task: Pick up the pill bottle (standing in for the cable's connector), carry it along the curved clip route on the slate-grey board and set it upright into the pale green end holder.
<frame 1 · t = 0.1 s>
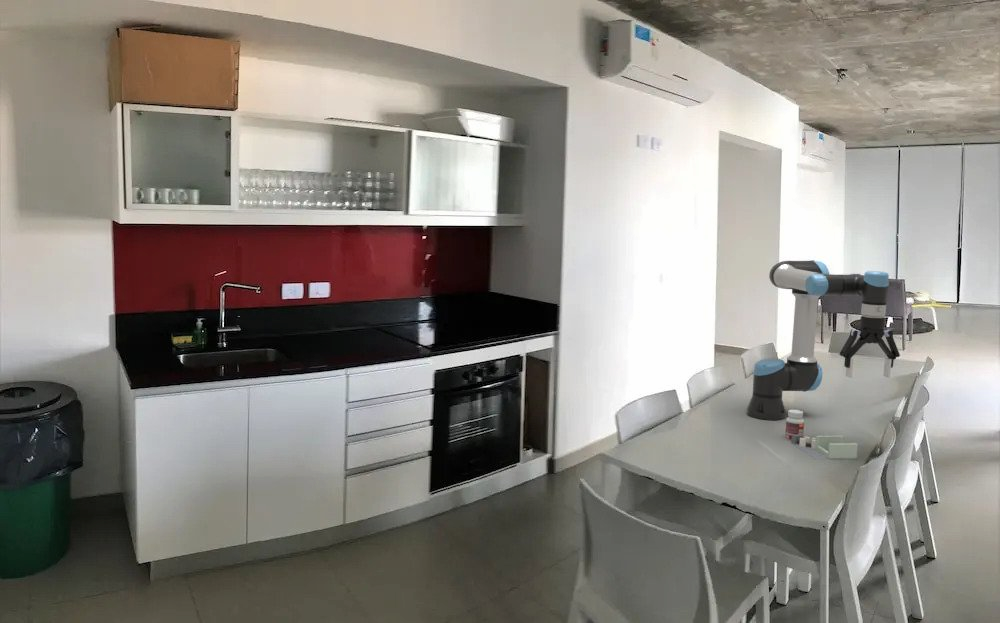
hand: (867, 376, 253), 28 cm above the table, fingers open, 13 cm apart
pill bottle: (793, 441, 271), on the table
end holder: (835, 453, 254), resting on route board
route board: (822, 453, 258), on the table
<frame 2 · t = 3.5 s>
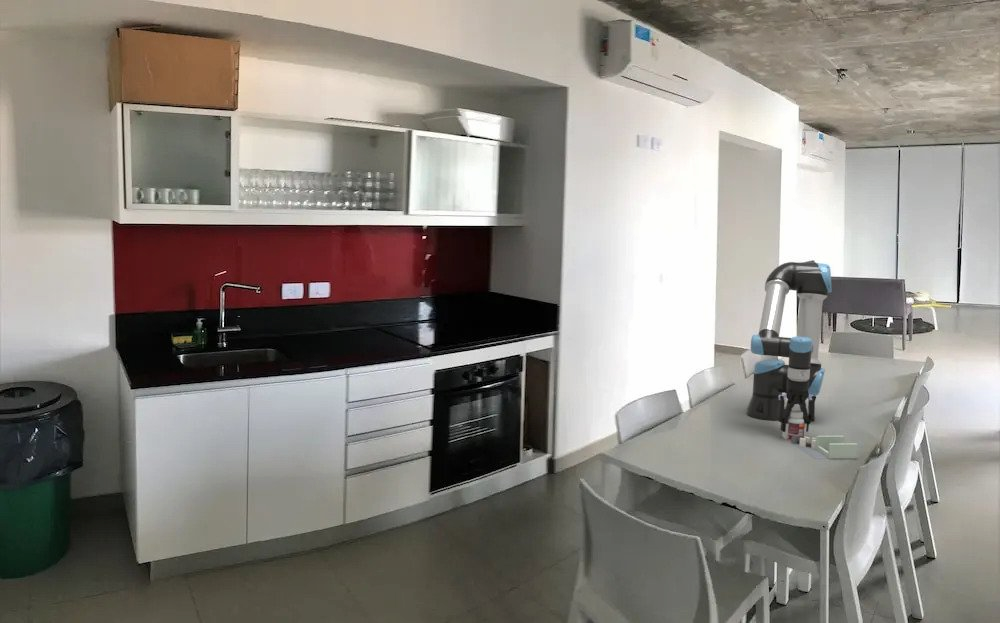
hand: (793, 439, 271), 0 cm above the table, fingers closed on pill bottle, 6 cm apart
pill bottle: (793, 441, 271), on the table, touching gripper
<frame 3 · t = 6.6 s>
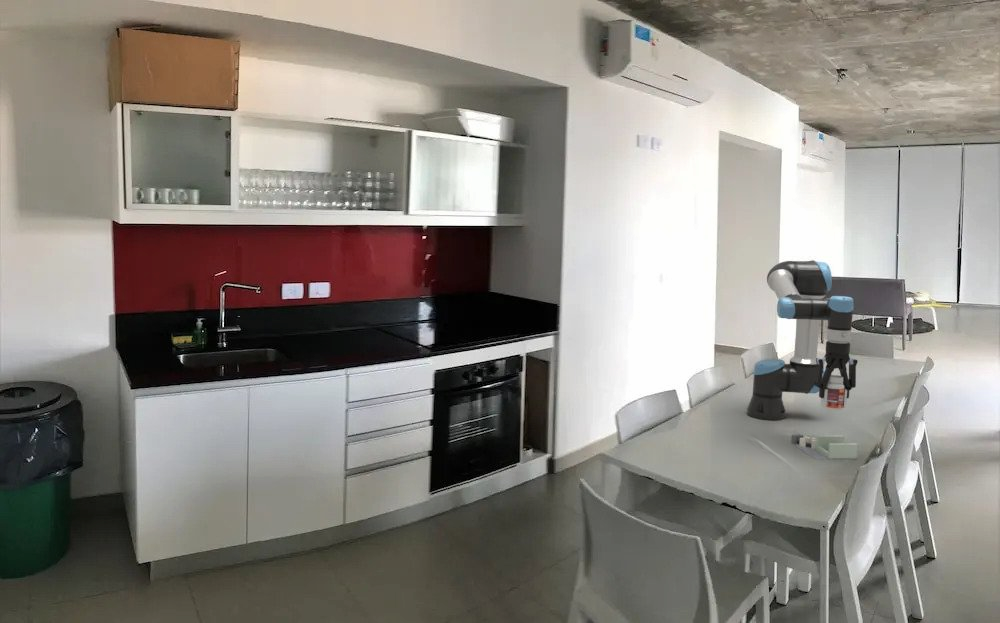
hand: (833, 407, 253), 17 cm above the table, fingers closed on pill bottle, 6 cm apart
pill bottle: (832, 408, 253), point 17 cm above the table, touching gripper
when the fingers open (4 cm above the table, at t = 9.6 s): pill bottle drops 2 cm, resting on route board.
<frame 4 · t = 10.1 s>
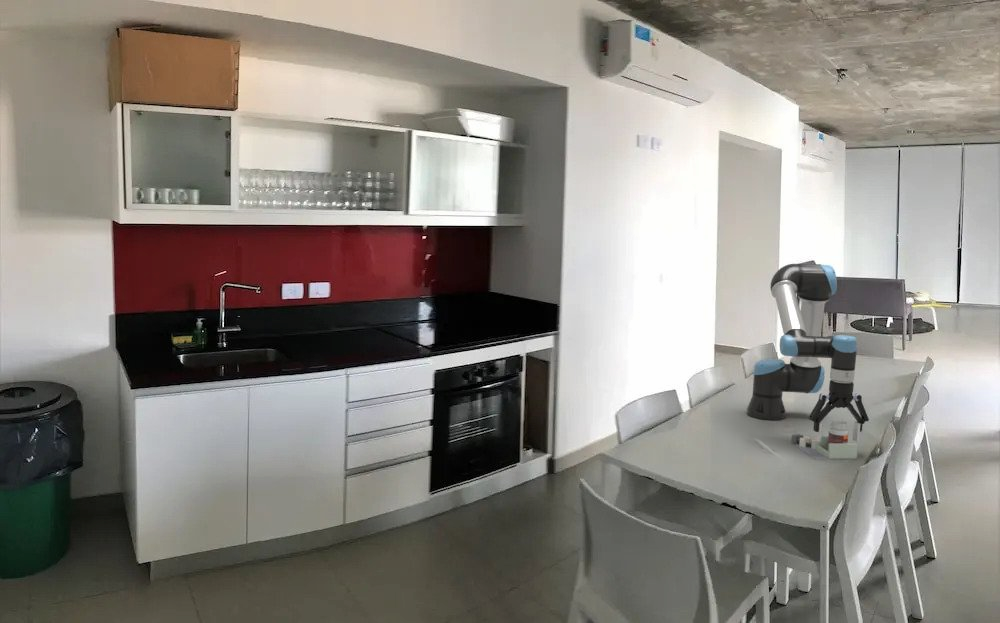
hand: (836, 440, 253), 6 cm above the table, fingers open, 13 cm apart
pill bottle: (836, 454, 254), point 1 cm above the table, touching route board
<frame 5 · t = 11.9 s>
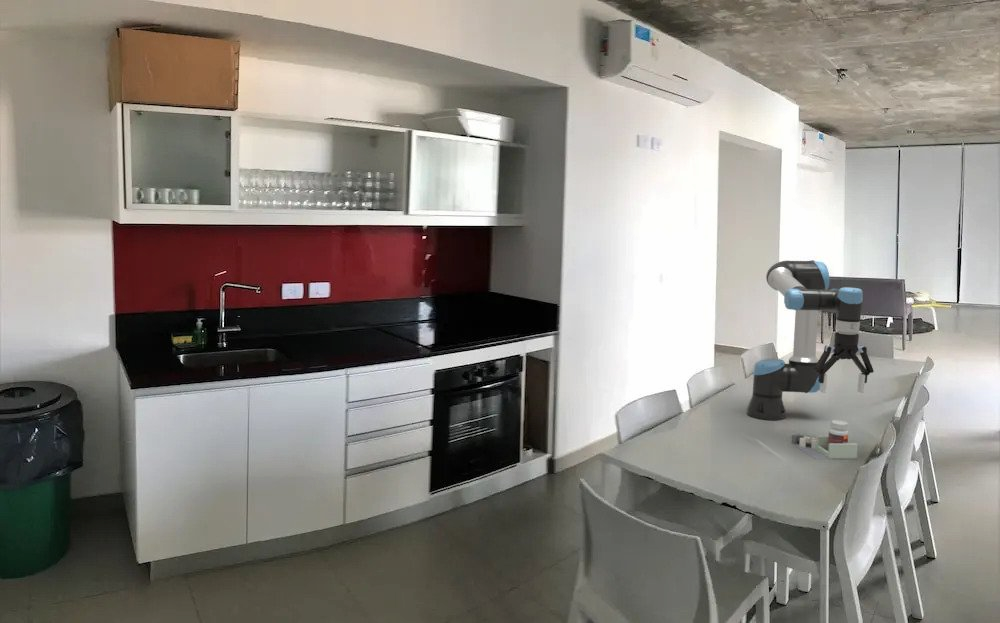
hand: (841, 392, 256), 22 cm above the table, fingers open, 13 cm apart
nothing on the table moved.
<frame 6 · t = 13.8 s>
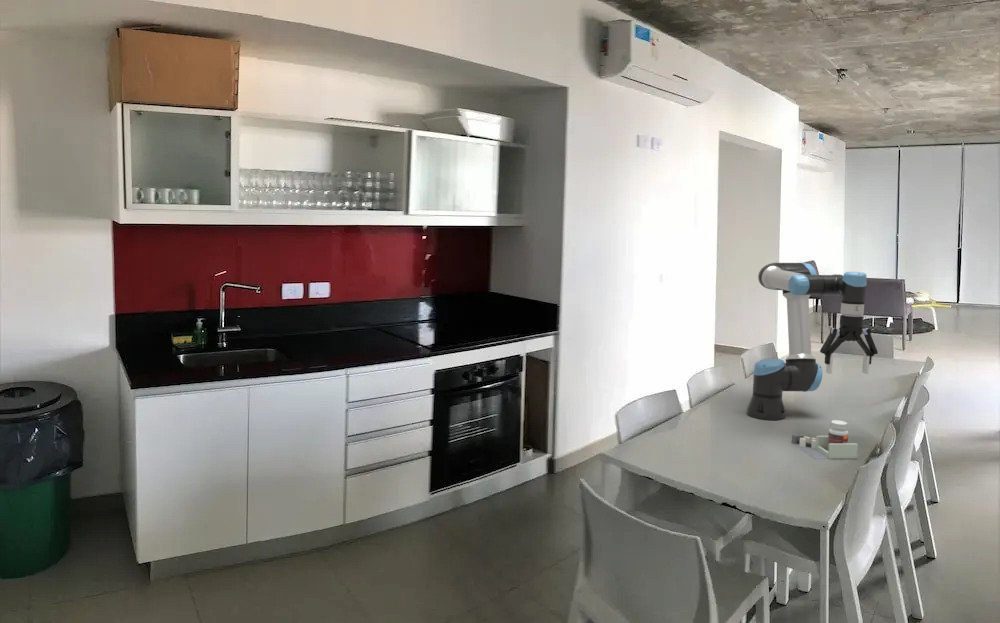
hand: (846, 373, 264), 27 cm above the table, fingers open, 13 cm apart
nothing on the table moved.
at the end: pill bottle 0.4 cm off-centre on the end holder, point 0.0 cm above the end holder's base; pill bottle tilted 0°; the gripper is holding nothing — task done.
